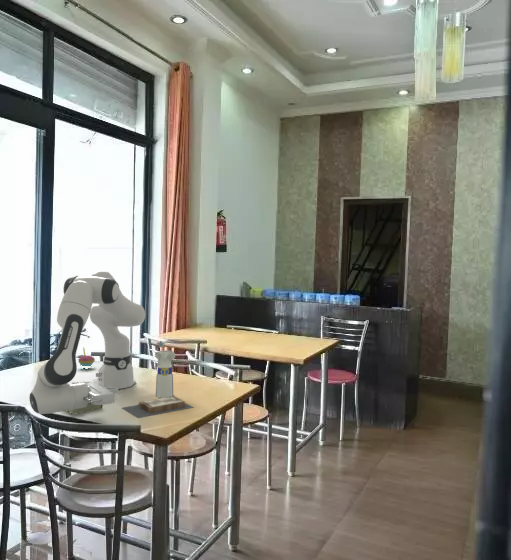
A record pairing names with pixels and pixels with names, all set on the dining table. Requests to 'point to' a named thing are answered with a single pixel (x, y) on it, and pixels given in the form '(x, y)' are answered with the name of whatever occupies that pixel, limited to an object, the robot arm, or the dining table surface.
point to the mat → (142, 413)
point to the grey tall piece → (164, 373)
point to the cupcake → (86, 360)
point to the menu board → (161, 404)
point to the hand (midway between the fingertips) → (116, 389)
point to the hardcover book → (87, 408)
